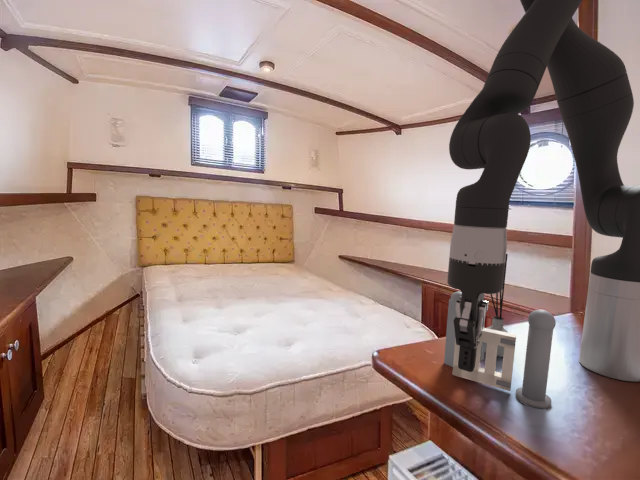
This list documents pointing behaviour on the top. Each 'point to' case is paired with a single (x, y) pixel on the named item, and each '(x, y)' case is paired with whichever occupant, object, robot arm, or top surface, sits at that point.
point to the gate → (490, 360)
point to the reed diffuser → (498, 321)
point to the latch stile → (451, 331)
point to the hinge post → (537, 360)
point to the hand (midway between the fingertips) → (466, 368)
